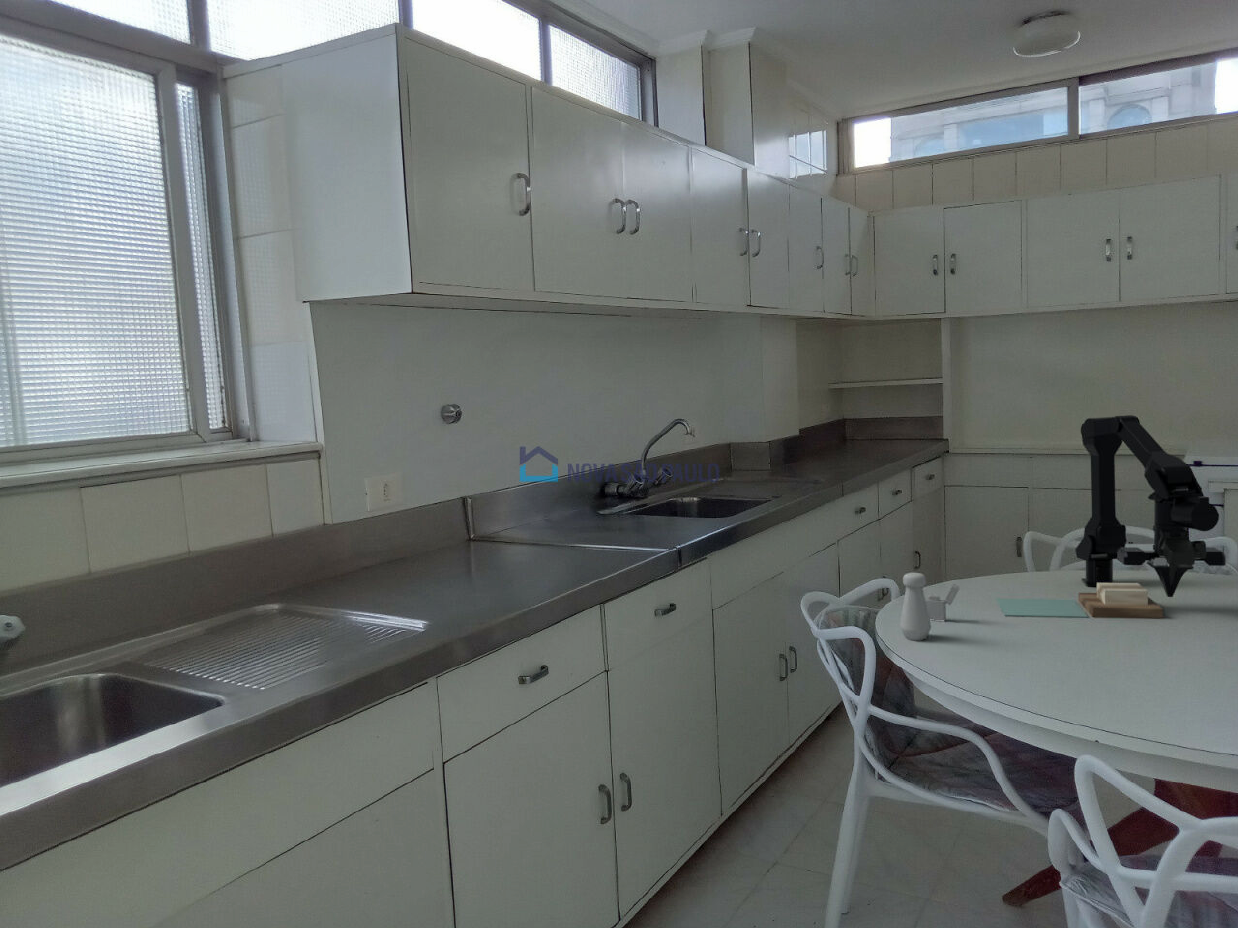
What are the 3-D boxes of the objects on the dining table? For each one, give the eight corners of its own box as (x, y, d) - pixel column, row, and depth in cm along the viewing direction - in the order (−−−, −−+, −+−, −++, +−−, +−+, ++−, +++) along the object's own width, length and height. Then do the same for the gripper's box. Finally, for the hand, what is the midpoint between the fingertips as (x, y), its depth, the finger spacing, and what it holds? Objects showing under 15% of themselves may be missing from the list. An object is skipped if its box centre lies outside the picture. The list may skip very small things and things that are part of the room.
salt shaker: (931, 634, 181) (930, 570, 179) (931, 642, 175) (930, 577, 174) (901, 632, 183) (899, 570, 181) (900, 641, 177) (898, 576, 176)
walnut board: (1078, 601, 199) (1078, 592, 199) (1144, 602, 196) (1144, 593, 195) (1092, 617, 187) (1092, 607, 186) (1162, 618, 183) (1163, 608, 183)
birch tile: (1096, 596, 195) (1096, 582, 195) (1137, 596, 193) (1137, 583, 193) (1105, 604, 188) (1105, 590, 188) (1147, 604, 186) (1147, 590, 186)
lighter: (924, 619, 191) (923, 583, 190) (926, 617, 192) (925, 581, 192) (958, 623, 187) (958, 585, 186) (960, 621, 189) (960, 584, 188)
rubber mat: (996, 599, 204) (996, 598, 204) (1073, 600, 200) (1073, 599, 200) (1005, 616, 191) (1005, 614, 191) (1088, 617, 186) (1088, 616, 186)
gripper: (1131, 530, 181) (1131, 605, 183) (1237, 530, 177) (1235, 607, 178) (1116, 521, 192) (1116, 592, 194) (1215, 520, 187) (1214, 593, 189)
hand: (1169, 596), depth 188 cm, fingers closed
